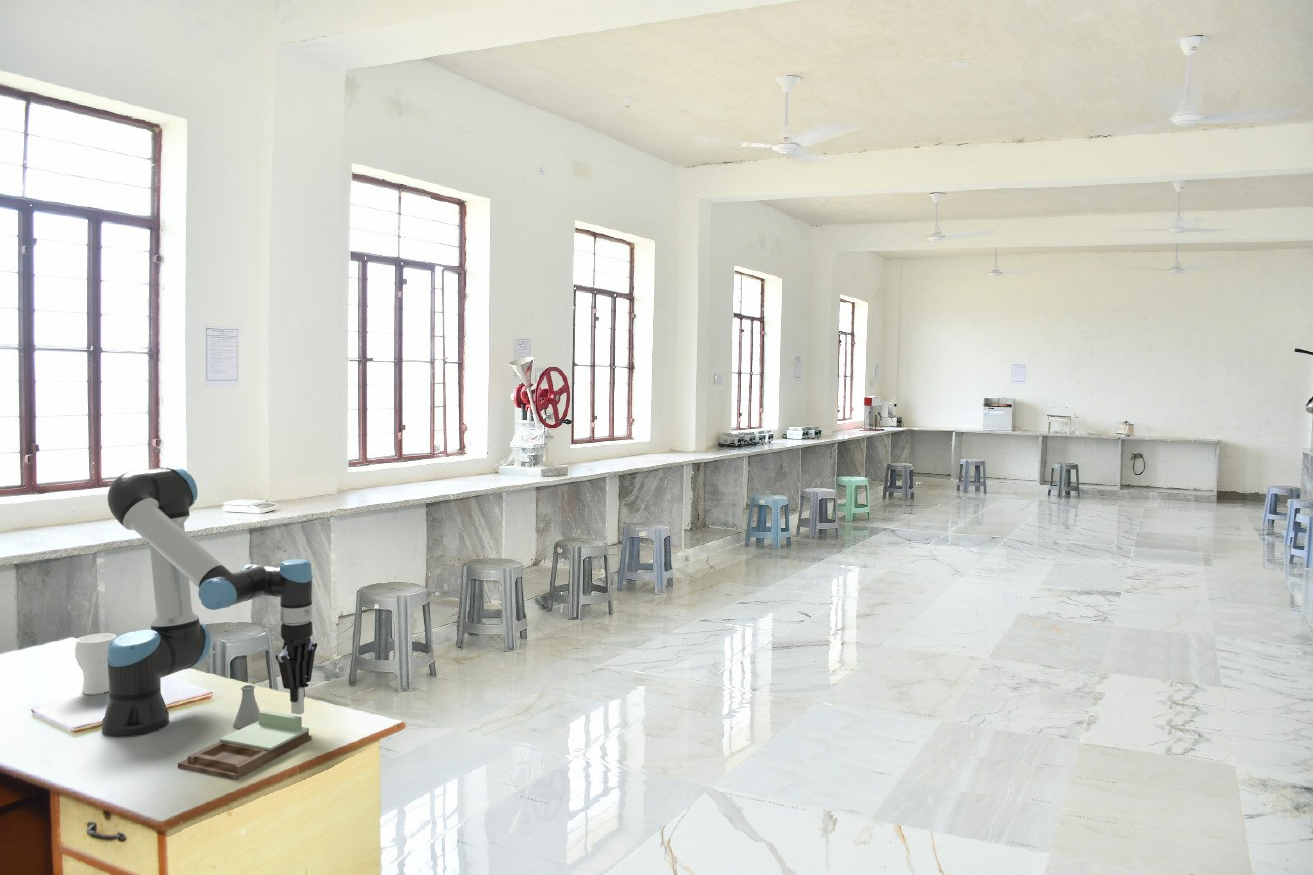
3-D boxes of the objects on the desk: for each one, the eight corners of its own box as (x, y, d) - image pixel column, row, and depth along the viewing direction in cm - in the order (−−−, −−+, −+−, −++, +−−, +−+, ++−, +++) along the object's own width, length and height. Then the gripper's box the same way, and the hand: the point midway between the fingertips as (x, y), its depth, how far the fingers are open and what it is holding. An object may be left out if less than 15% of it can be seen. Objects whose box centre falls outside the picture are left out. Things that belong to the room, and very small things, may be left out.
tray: (177, 767, 225) (177, 756, 225) (256, 729, 248) (256, 720, 248) (236, 779, 219) (235, 768, 219) (311, 739, 242) (311, 729, 242)
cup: (127, 688, 277) (126, 636, 276) (89, 699, 268) (87, 645, 267) (107, 681, 282) (105, 630, 281) (68, 691, 274) (67, 639, 272)
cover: (220, 741, 234) (219, 726, 234) (260, 721, 247) (260, 708, 246) (270, 750, 229) (270, 735, 229) (309, 730, 242) (309, 716, 241)
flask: (252, 731, 248) (252, 692, 247) (227, 728, 249) (226, 690, 248) (269, 720, 255) (269, 683, 254) (244, 718, 256) (244, 681, 255)
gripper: (290, 629, 239) (291, 723, 241) (325, 617, 251) (326, 706, 253) (266, 626, 242) (267, 719, 244) (302, 613, 254) (303, 702, 256)
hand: (297, 712), depth 248 cm, fingers closed
